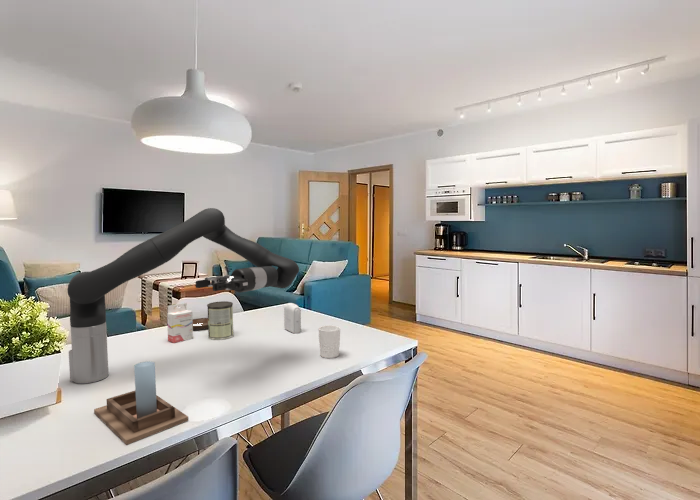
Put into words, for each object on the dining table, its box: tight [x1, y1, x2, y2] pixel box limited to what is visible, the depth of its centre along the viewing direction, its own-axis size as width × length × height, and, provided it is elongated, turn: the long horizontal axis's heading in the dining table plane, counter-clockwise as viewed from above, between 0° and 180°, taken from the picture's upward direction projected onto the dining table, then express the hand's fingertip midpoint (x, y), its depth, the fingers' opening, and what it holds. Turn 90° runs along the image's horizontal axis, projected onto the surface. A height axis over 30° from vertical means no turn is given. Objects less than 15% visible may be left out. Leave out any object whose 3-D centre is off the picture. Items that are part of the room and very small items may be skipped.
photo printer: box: [283, 302, 302, 334], centre depth 176 cm, size 10×4×12 cm, turn 36°
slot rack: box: [93, 390, 190, 446], centre depth 99 cm, size 22×14×4 cm, turn 49°
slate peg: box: [133, 360, 157, 419], centre depth 96 cm, size 4×4×13 cm
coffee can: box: [206, 300, 234, 341], centre depth 167 cm, size 10×10×14 cm
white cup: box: [318, 324, 341, 359], centre depth 143 cm, size 8×8×10 cm
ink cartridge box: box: [166, 302, 194, 344], centre depth 163 cm, size 9×5×15 cm, turn 141°
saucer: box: [193, 317, 208, 331], centre depth 183 cm, size 15×15×3 cm
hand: (204, 286), depth 115 cm, fingers open, 8 cm apart
